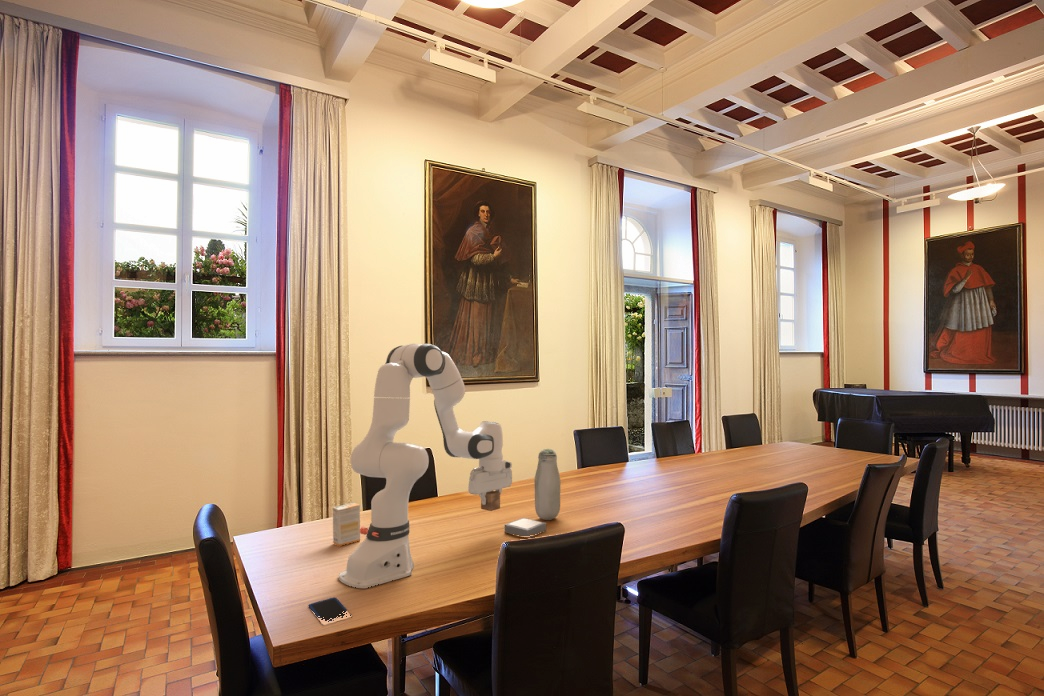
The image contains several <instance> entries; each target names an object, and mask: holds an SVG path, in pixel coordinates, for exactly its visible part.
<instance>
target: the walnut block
mask: <svg viewBox="0 0 1044 696" xmlns="http://www.w3.org/2000/svg"><path fill="white" fill-rule="evenodd" d="M485 498H486V499H488V504H486V505H482V499H481V498H480V509H481V510H485V511H489V512H492V511H496V510H499V509H501V495H500V492H497V491H495V490H494V491H490V492H486V495H485Z"/></svg>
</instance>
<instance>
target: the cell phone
mask: <svg viewBox="0 0 1044 696" xmlns="http://www.w3.org/2000/svg"><path fill="white" fill-rule="evenodd" d="M308 606H309V607H308V608H309V610H310V609H311V610H312V611H313V612H314V613H315V615H316V616H317V617H318V616H320V617H318V618H322V619H321V620H323V619H325V621H327V620H329V619H330V618H332V619H334V618H336V617H337V616H338V617H340V616H342V617H341V618H343V616H344V615H345V614H343V613H345V612H346V611H347V610H348V609H347V608H346V606H345V605H344V604H343V603H342V602H341V601H340V600H339V599H338V598H337V597H334V596H333V597H330V598H326V599H323V600H319V601H315V602H312V603H309V604H308ZM311 610H310V611H311ZM312 611H311V612H312ZM343 611H344V612H343ZM313 612H312V613H313ZM342 612H343V613H342ZM339 614H341V615H339ZM346 614H347V613H346ZM315 615H314V616H315ZM351 615H352V614H351ZM351 615H350V616H351ZM316 616H315V617H316ZM317 617H316V618H317ZM323 617H324V618H323ZM338 617H337V618H338ZM346 617H347V616H346ZM337 618H336V619H337ZM332 619H330V620H329V621H332ZM336 619H334V620H336ZM334 620H333V621H334ZM329 621H328V622H329Z"/></svg>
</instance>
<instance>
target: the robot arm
mask: <svg viewBox="0 0 1044 696" xmlns="http://www.w3.org/2000/svg"><path fill="white" fill-rule="evenodd" d="M456 365H457V364H455V362H454V360H453V359H452V357H451V356H450V354H448V353H447V352H445V351H442V350H441V349H440V348H439V347H438V346H437V345H434V344H431V343H423V344H421V343H409V344H405V345H399V346H396V347H394V348H392V349H391V350H390V351H389V352H388V355H387V357H386V360H385V363H384V364H382V365H381V366H380V367H379V368H378V370H377V374H376V379H375V385H374V391H373V393H374V395H373V407H372V408H373V409H372V411H373V412H372V417H371V424H370V427H369V430H368V432H367V434H366V436H365V437H364V438H363V440H362V441H360V442H359V443H358V444H357V445H355V447H354V448H353V449H352V452H351V453H350V458H349V459H350V466H351V468H352V470H353V472H355V474H359V475H362V476H365V477H369V478H381V479H382V478H383V479H385V480H386V481H385V483H386V484H385V486H384V488H383V489H381V490H380V491H378V492H376V493H375V495H374V496H373V497H372V499H371V502H370V504H371V506H370V507H371V508H370V509H371V511H370V512H371V514H370V515H371V518H370V520H371V522H370V524H369V527H365V526H360V535H361V534H362V535H366V536H365V538H364V540H363V541H362V542H361V543H360V544H358V546H357V547H356V548H355V549H354V550H353V552H351V553H350V554H349V557H348V559H347V563H346V570H344V571H341V572H340V573H339V574H338V580H339V581H340V582H341V583H342V584H344V585H346V586H348V585H349V586H348V587H351V586H352V587H351V588H355V587H356V589H368V587H369V588H372V587H375V585H376V586H378V584H379V585H382V584H385V583H389V582H391V581H392V580H393V581H395V580H399V579H402V578H406V577H409V576H411V575H412V570H413V569H414V562H413V559H412V554H411V548H410V541H409V535H410V520H409V499H410V493H411V491H412V488H413V487H414V484H415V483H416V482H417V481H418V480H419V479H420V478H421V477H423V475H424V474H425V473H426V471H427V469H428V468H429V462H430V460H429V459H430V458H429V457H430V456H429V454H428V452H427V450H426V448H424V446H421V445H418V444H415V443H410V442H394V439H395V435H396V434H397V432H398V431H400V430H402V429H404V428H405V427H406V426H407V424H408V423H409V421H410V406H411V405H410V404H411V403H410V400H411V387H410V385H411V382H412V380H413V378H415V379H417V378H424V377H425V378H426V380H427V381H428V384H429V387H430V389H431V391H432V394H433V397H434V398H433V399H434V400H433V406H434V411H435V413H436V417H437V420H438V423H439V426H440V430H441V433H442V437H443V447H444V450H445V453H446V454H447V455H448V456H449V457H452V458H463V459H472V460H478V467H474V468H472V470H471V471H470V473H469V479H468V480H469V481H468V493H469V494H470V495H474V496H475V495H476V496H477V495H478V497H479V498H480V500H481V499H482V505H486V504H488V499H486V498H485V495H486V492H490V491H497V492H500V496H501V494H502V492H503V489H506V488H510V487H511V486H512V483H513V471H512V468H513V467H512V466H513V463H512V462H511V461H508V460H504V458H503V457H504V456H503V452H502V449H503V446H504V444H503V443H504V440H503V429H502V425H501V424H500V423H498V422H494V421H487V420H486V421H485V420H484V421H482V422H480V425H478V426H477V428H475V429H473V430H471V431H467V430H463V429H461V428H460V427H459V425H458V422H457V419H456V416H455V415H456V414H455V412H454V407H455V406H456V405H457V404H459V403H460V402H461V401H462V400H463V398H464V396H465V394H466V386H465V383H464V380H463V378H462V376H461V373H460V371H459V369H458V367H457V366H456ZM393 581H392V582H393ZM371 586H372V587H371Z"/></svg>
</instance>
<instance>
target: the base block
mask: <svg viewBox="0 0 1044 696" xmlns="http://www.w3.org/2000/svg"><path fill="white" fill-rule="evenodd" d="M543 531H545V532H547V522H543V521H540V520H539V521H538V520H534V519H532V518H531V519H530V518H527V517H522V518H519V519H515V520H513V521H510V522H508V523H505V524H504V533H505V532H506V533H505V534H507V533H510V534H509V535H511V534H514V535H513V536H515V535H519V536H530V535H535V534H538V533H540V532H543ZM543 533H544V532H543ZM540 534H541V533H540ZM538 535H539V534H538ZM519 536H518V537H519ZM532 537H534V536H530V537H524V539H526V538H528V539H530V538H532Z"/></svg>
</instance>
